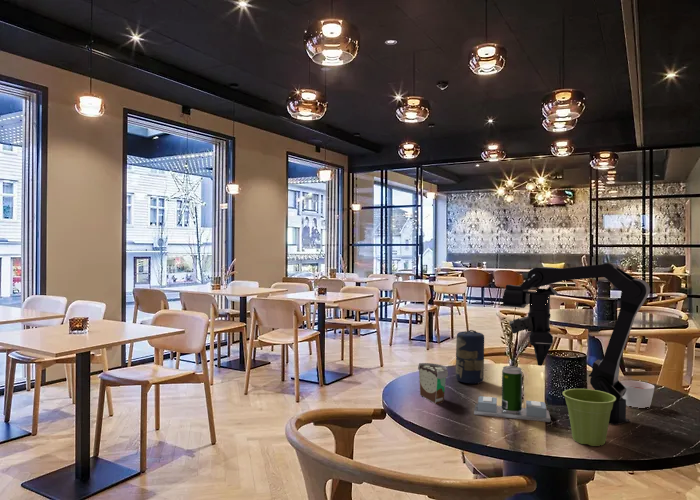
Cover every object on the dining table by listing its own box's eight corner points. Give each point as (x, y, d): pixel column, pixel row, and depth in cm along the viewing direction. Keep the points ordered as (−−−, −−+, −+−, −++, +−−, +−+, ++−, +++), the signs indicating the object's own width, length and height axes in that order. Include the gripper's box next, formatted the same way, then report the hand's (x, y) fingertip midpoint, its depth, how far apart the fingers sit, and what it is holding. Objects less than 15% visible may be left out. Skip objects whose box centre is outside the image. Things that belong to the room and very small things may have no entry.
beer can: (512, 415, 141) (513, 371, 141) (497, 409, 145) (498, 367, 145) (525, 411, 144) (526, 368, 143) (510, 406, 148) (510, 365, 148)
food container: (456, 403, 154) (456, 370, 153) (438, 405, 151) (438, 372, 151) (434, 392, 165) (434, 361, 165) (417, 394, 163) (418, 362, 163)
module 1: (496, 406, 148) (496, 396, 148) (496, 412, 143) (496, 402, 143) (478, 404, 150) (478, 395, 150) (477, 410, 144) (477, 401, 144)
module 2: (544, 410, 145) (544, 401, 145) (546, 417, 139) (546, 407, 139) (525, 408, 146) (526, 399, 146) (526, 415, 140) (526, 405, 140)
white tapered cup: (646, 412, 147) (647, 390, 147) (614, 404, 154) (614, 383, 154) (659, 406, 153) (659, 385, 153) (627, 399, 160) (627, 378, 160)
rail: (548, 414, 145) (548, 410, 145) (550, 422, 138) (550, 418, 138) (475, 406, 151) (475, 403, 151) (474, 414, 144) (474, 410, 144)
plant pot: (578, 428, 133) (578, 385, 133) (624, 443, 124) (625, 396, 124) (552, 438, 126) (552, 393, 126) (599, 454, 117) (600, 405, 117)
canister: (450, 379, 182) (451, 328, 182) (474, 377, 185) (475, 327, 185) (464, 386, 173) (465, 332, 173) (489, 384, 176) (489, 331, 175)
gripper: (510, 304, 163) (509, 353, 163) (511, 311, 145) (510, 367, 146) (548, 306, 160) (547, 356, 160) (553, 313, 142) (552, 370, 142)
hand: (538, 362), depth 152 cm, fingers open, 9 cm apart
